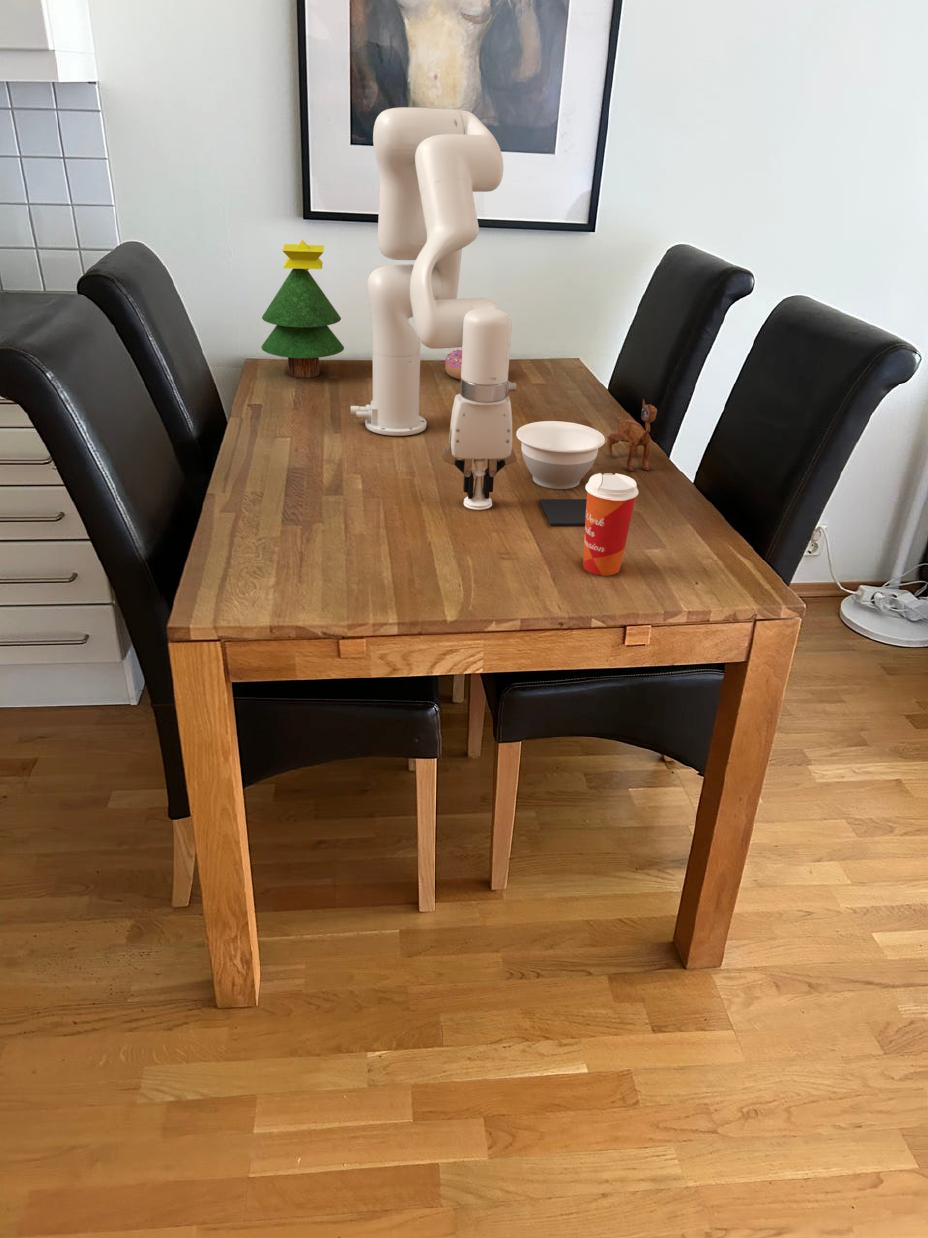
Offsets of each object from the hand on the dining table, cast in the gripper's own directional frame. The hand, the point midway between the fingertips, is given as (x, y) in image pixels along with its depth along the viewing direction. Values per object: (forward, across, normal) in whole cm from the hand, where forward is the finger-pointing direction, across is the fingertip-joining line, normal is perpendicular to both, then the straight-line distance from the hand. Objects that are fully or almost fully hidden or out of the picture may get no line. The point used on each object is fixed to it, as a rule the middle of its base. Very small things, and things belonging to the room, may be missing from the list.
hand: (477, 495), depth 160 cm
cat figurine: (+2, -32, -22) cm, 39 cm away
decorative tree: (+2, +32, -78) cm, 84 cm away
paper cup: (+2, -16, +24) cm, 29 cm away
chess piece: (+2, 0, 0) cm, 2 cm away
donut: (+2, -9, -78) cm, 79 cm away
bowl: (+2, -16, -11) cm, 20 cm away
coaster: (+2, -16, +4) cm, 17 cm away
